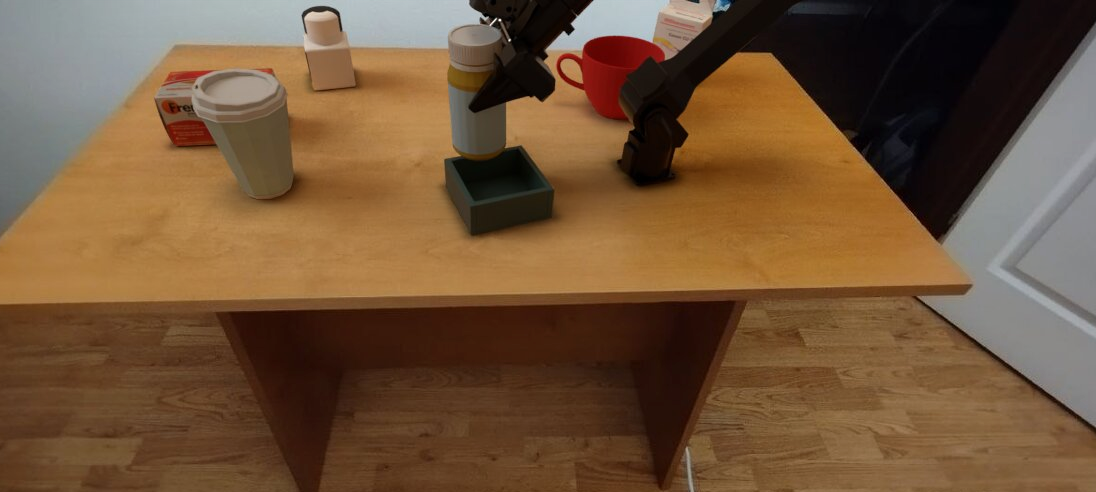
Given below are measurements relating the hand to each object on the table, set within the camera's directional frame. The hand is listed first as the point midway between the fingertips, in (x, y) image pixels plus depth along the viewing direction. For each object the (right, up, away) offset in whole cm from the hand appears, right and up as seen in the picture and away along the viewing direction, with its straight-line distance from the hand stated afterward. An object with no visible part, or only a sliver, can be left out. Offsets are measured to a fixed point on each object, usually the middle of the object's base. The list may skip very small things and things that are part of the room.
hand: (466, 96), depth 71 cm
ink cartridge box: (+35, +14, +37) cm, 53 cm away
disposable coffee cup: (-27, -10, +7) cm, 30 cm away
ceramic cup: (+21, +6, +27) cm, 35 cm away
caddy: (+4, -12, +7) cm, 14 cm away
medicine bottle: (-26, +12, +31) cm, 43 cm away
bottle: (+1, -5, +6) cm, 8 cm away
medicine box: (-37, 0, +17) cm, 41 cm away
